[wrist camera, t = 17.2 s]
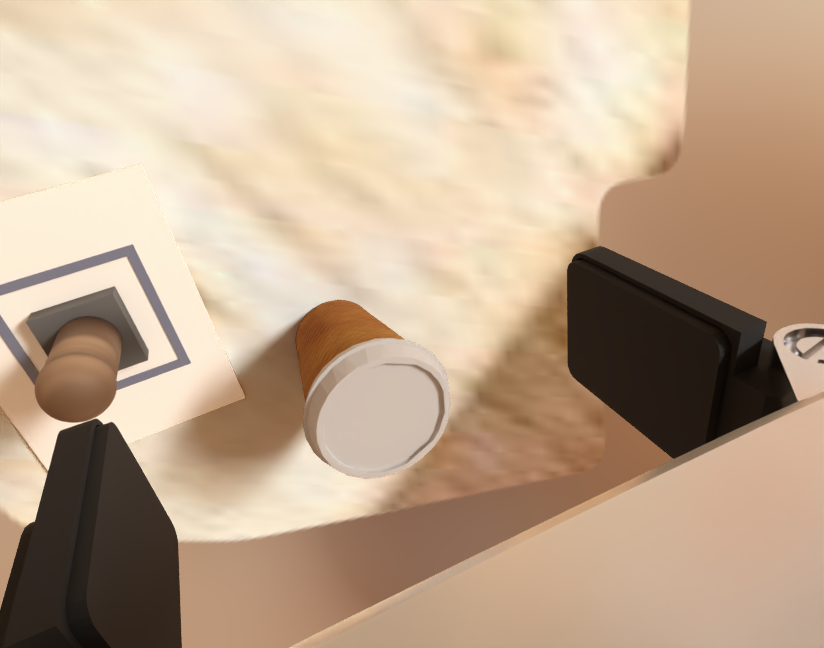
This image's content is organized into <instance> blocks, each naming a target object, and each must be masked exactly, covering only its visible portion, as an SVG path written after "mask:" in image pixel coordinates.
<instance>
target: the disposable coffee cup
mask: <svg viewBox="0 0 824 648" xmlns="http://www.w3.org/2000/svg"><path fill="white" fill-rule="evenodd" d="M296 349H297V354H298V360H299V366H300V373H301V378H302V384H303V390H304V397H305V406H304V412H303V426H304V431H305V436H306V439H307V441H308V443H309V445H310V446H311V448H312V450H313V452H314V453H315V454H316V455H317V456H318V457H319V458H320V459H321V460H322V461H324V462H325V463H327V464H329V465H330V466H332V467H333V468H335V469H336V470H338V471H340V472H342V473H344V474H346V475H348V476H353V477H358V478H364V479H369V478H381V477H385V476H389V475H393V474H395V473H397V472H399V471H401V470H403V469H405V468H408V467H410V466H412V465H413V464H415V463H416V462H417V461H419V460H420V459H421V458H423V457H424V456H425V455H426V454H427V453H428V452H429V451H430V450H431V449H432V448H433V447H434V445H435V444H436V443H437V441H438V440H439V439H440V437H441V435H442V433H443V432H444V430H445V427H446V424H447V422H448V419H449V415H450V407H451V400H450V392H449V383H448V379H447V374H446V372H445V370H444V368H443V366H442V364H441V363H440V361H439V360H438V359H437V358H436V356H435V355H434V354H432V353H431V352H430V351H429V350H428V349H426V348H424V347H422V346H420V345H418V344H416V343H414V342H411V341H407V340H405V339H403V338H402V337H401V336H399V335H398V334H397V333H395V332H394V331H392V330H391V329H390V328H388V327H387V326H386V325H385V324H383V323H382V322H380V321H379V320H378V319H376V318H375V317H374V316H372V315H371V314H370V313H368V312H367V311H366V310H364V309H363V308H362V307H361V306H359V305H357V304H355V303H353V302H350V301H346V300H335V301H329V302H326V303H323V304H321V305H319V306H317V307H315V308H314V309H312V310H311V311H310V312H309V313H308V314H307V315H306V316H305V317H304V318H303V320H302V321H301V323H300V325H299V327H298V330H297V333H296Z"/></svg>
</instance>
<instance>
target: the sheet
mask: <svg viewBox="0 0 824 648" xmlns="http://www.w3.org/2000/svg"><path fill="white" fill-rule="evenodd" d="M113 286H115V287H116V289H117V291H118V293H119V295H120V297H121V299H122V301H123V303H124V304H125V306H126V308H127V310H128V312H129V314H130V316H131V318H132V320H133V321H134V323H135V325H136V327H137V329H138V331H139V333H140V335H141V336H142V338H143V340H144V342H145V344H146V346H147V348H148V350H149V355H148V360H147V361H145V362H142V363H139V364H136V365H133V366H131V367H128V368H125V369H122V370H119V371H118V374H117V391H116V395H115V398H114V400H113V402H112V403H111V405H110V406H109V407H108V408H107V409H106V410H105V411H104V412H103V413H102V414H100V415H99V416H97V417H95V418H93V419H99V420H100V421H101V422H102V423H103V425H104V424H107V423H109V422H113V423H114V424H115V425H116V426H117V427H118V429H119V431H120V433H121V434H122V436H123V438H124V440H125V441H126V443H127V444H129V443H131V442H134V441H137V440H139V439H142V438H144V437H147V436H149V435H152V434H154V433H157V432H160V431H162V430H165V429H167V428H170V427H172V426H175V425H177V424H180V423H183V422H185V421H188V420H190V419H193V418H195V417H198V416H200V415H203V414H206V413H208V412H211V411H213V410H216V409H218V408H221V407H224V406H226V405H229V404H231V403H234V402H236V401H239V400H241V399H244V398H245V395H244V393H243V390H242V388H241V386H240V384H239V381H238V379H237V377H236V375H235V372H234V370H233V368H232V366H231V363H230V361H229V359H228V357H227V355H226V352H225V350H224V348H223V346H222V343H221V341H220V339H219V337H218V334H217V332H216V330H215V328H214V325H213V323H212V321H211V319H210V317H209V314H208V312H207V310H206V308H205V305H204V303H203V301H202V299H201V296H200V294H199V292H198V290H197V287H196V285H195V283H194V281H193V279H192V276H191V274H190V272H189V270H188V267H187V265H186V263H185V261H184V258H183V256H182V254H181V252H180V249H179V247H178V245H177V243H176V240H175V238H174V236H173V234H172V232H171V229H170V227H169V225H168V223H167V220H166V218H165V216H164V214H163V211H162V209H161V207H160V205H159V202H158V200H157V198H156V196H155V194H154V191H153V189H152V187H151V185H150V182H149V180H148V178H147V176H146V173H145V171H144V169H143V167H142V164H141V163H140V164H137V165H133V166H129V167H126V168H122V169H118V170H115V171H111V172H107V173H104V174H100V175H96V176H93V177H89V178H85V179H82V180H78V181H74V182H71V183H67V184H63V185H60V186H56V187H52V188H49V189H45V190H41V191H38V192H34V193H30V194H27V195H23V196H19V197H16V198H12V199H8V200H5V201H1V202H0V407H1V408H2V409H3V411H4V412H5V413H6V415H7V416H8V417H9V419H10V420H11V422H12V423H13V424H14V426H15V427H16V428H17V430H18V431H19V432H20V434H21V435H22V436H23V438H24V439H25V440H26V442H27V443H28V445H29V446H30V447H31V449H32V450H33V451H34V453H35V454H36V455H37V457H38V458H39V459H40V461H41V462H42V463H43V465H44V466H45V468H46V469H47V470H49V466H50V462H51V459H52V455H53V451H54V447H55V443H56V440H57V436H58V433H59V431H61V430H63V429H66V428H69V427H72V426H75V425H78V424H81V423H84V422H87V421H84V422H78V423H69V422H63V421H59V420H56V419H54V418H52V417H50V416H49V415H47V414H46V413H45V412H44V411H43V410H42V409H41V408H40V406H39V404H38V403H37V400H36V397H35V382H36V379H37V376H38V374H39V373H40V371H41V370H42V368H43V367H44V365H45V363H46V360H47V358H48V356H47V355H46V353H45V352H44V350H43V349H42V347H41V345H40V344H39V342H38V341H37V339H36V338H35V336H34V335H33V333H32V332H31V330H30V328H29V327H28V325H27V324H26V321H27V319H28V318H29V316H30V314H31V313H33V312H36V311H39V310H42V309H45V308H48V307H51V306H54V305H58V304H61V303H64V302H67V301H70V300H73V299H76V298H79V297H82V296H85V295H89V294H92V293H95V292H98V291H101V290H104V289H107V288H110V287H113ZM93 419H91V420H93ZM88 421H90V420H88Z"/></svg>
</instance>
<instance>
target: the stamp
mask: <svg viewBox="0 0 824 648" xmlns="http://www.w3.org/2000/svg"><path fill="white" fill-rule="evenodd" d="M26 324H27V325H28V327H29V328H30V330H31V332H32V333H33V335H34V336H35V338H36V339H37V341H38V342H39V344H40V345H41V347H42V349H43V350H44V352H45V353H46V355H47V356H48V358H47V360H46V363H45V365H44V367H43V368H42V370H41V371H40V373H39V374H38V376H37V379H36V382H35V397H36V400H37V403H38V404H39V406H40V408H41V409H42V410H43V411H44V412H45V413H46V414H47V415H49V416H50V417H52V418H54V419H56V420H59V421H63V422H69V423H78V422H84V421H88V420H91V419H93V418H95V417H97V416H99V415H100V414H102V413H103V412H104V411H105V410H106V409H107V408H108V407H109V406H110V405H111V403H112V402H113V400H114V398H115V395H116V391H117V374H118V371H119V370H122V369H125V368H128V367H131V366H133V365H136V364H139V363H142V362H145V361H147V360H148V355H149V350H148V348H147V346H146V344H145V342H144V340H143V338H142V336H141V335H140V333H139V331H138V329H137V327H136V325H135V323H134V321H133V320H132V318H131V316H130V314H129V312H128V310H127V308H126V306H125V304H124V303H123V301H122V299H121V297H120V295H119V293H118V291H117V289H116V287H115V286H113V287H110V288H107V289H104V290H101V291H98V292H95V293H92V294H89V295H85V296H82V297H79V298H76V299H73V300H70V301H67V302H64V303H61V304H58V305H54V306H51V307H48V308H45V309H42V310H39V311H36V312H33V313H31V314H30V316H29V318H28V319H27V321H26Z"/></svg>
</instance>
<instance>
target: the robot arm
mask: <svg viewBox="0 0 824 648" xmlns="http://www.w3.org/2000/svg"><path fill="white" fill-rule="evenodd" d="M567 317H568V367H569V370H570V373H571V374H572V376H573V377H574V378H575V379H576V380H577V381H578V382H579V383H581V384H582V385H583V386H584V387H586V388H587V389H588V390H589V391H590V392H592V393H593V394H594V395H595V396H597V397H598V398H599V399H600V400H602V401H603V402H604V403H605V404H606V405H608V406H609V407H610V408H611V409H613V410H614V411H615V412H616V413H618V414H619V415H620V416H621V417H623V418H624V419H625V420H626V421H627V422H629V423H630V424H631V425H632V426H634V427H635V428H636V429H637V430H639V431H640V432H641V433H642V434H644V435H645V436H646V437H648V439H650V440H651V441H652V442H653V443H655V444H656V445H657V446H658V447H660V448H661V449H662V450H663V451H664V452H666V453H667V454H668V455H669V456H671V457H672V458H673V460H671V461H669V462H667V463H665V464H663V465H661V466H658V467H656V468H654V469H652V470H650V471H648V472H646V473H644V474H642V475H640V476H638V477H636V478H633V479H631V480H629V481H627V482H625V483H623V484H621V485H619V486H617V487H615V488H613V489H611V490H609V491H606V492H605V493H602V494H600V495H598V496H596V497H594V498H592V499H590V500H588V501H586V502H584V503H582V504H580V505H578V506H576V507H574V508H571V509H569V510H567V511H565V512H563V513H561V514H559V515H557V516H555V517H553V518H551V519H549V520H547V521H545V522H543V523H541V524H538V525H536V526H535V527H533V528H530V529H528V530H526V531H524V532H522V533H520V534H518V535H516V536H514V537H512V538H510V539H508V540H506V541H504V542H502V543H500V544H498V545H495V546H493V547H491V548H489V549H487V550H485V551H483V552H481V553H479V554H477V555H475V556H473V557H471V558H469V559H467V560H465V561H463V562H461V563H459V564H457V565H455V566H453V567H450V568H448V569H447V570H444V571H442V572H440V573H438V574H436V575H434V576H432V577H430V578H428V579H427V580H424V581H422V582H420V583H418V584H416V585H414V586H412V587H410V588H408V589H406V590H404V591H402V592H400V593H398V594H396V595H394V596H392V597H390V598H388V599H386V600H384V601H382V602H380V603H378V604H375V605H374V606H371V607H370V608H367V609H365V610H363V611H361V612H359V613H357V614H355V615H353V616H351V617H349V618H347V619H345V620H343V621H341V622H339V623H337V624H335V625H333V626H331V627H329V628H327V629H325V630H323V631H321V632H319V633H317V634H315V635H313V636H311V637H309V638H307V639H305V640H303V641H301V642H299V643H297V644H295V645H294V646H291V647H290V648H824V325H822V324H811V323H810V324H795V325H791V326H787V327H784V328H782V329H780V330H778V331H777V332H776V334H775V335H774V337H773V341H770V340H768V339H765V338H763V336H764V332H765V328H766V323H767V322H766V321H763V320H761V319H759V318H757V317H755V316H753V315H750V314H748V313H746V312H744V311H742V310H739V309H737V308H735V307H733V306H731V305H729V304H727V303H724V302H722V301H720V300H718V299H716V298H713V297H711V296H709V295H707V294H705V293H703V292H700V291H698V290H696V289H694V288H692V287H690V286H687V285H685V284H683V283H681V282H679V281H677V280H674V279H672V278H670V277H668V276H666V275H664V274H661V273H659V272H657V271H655V270H653V269H650V268H648V267H646V266H644V265H642V264H640V263H637V262H635V261H633V260H631V259H629V258H626V257H624V256H622V255H620V254H618V253H616V252H614V251H611V250H609V249H607V248H605V247H601V246H599V247H595V248H592V249H590V250H587V251H584V252H581V253H578V254H576V255H575V256H574V257H573V259H572V263H570V264H569V266H568V269H567ZM0 648H182V643H181V614H180V585H179V557H178V540H177V535H176V531H175V528H174V526H173V524H172V522H171V520H170V518H169V517H168V515H167V513H166V511H165V510H164V508H163V506H162V504H161V503H160V501H159V499H158V497H157V496H156V494H155V492H154V490H153V489H152V487H151V485H150V483H149V482H148V480H147V478H146V476H145V475H144V473H143V471H142V469H141V468H140V466H139V464H138V462H137V461H136V459H135V457H134V455H133V454H132V452H131V450H130V448H129V447H128V445H127V443H126V441H125V440H124V438H123V436H122V434H121V433H120V431H119V429H118V427H117V426H116V425H115V424H114V423H113V422H109V423H107V424H104V425H103V423H102V422H101V421H100V420H99V419H93V420H90V421H87V422H84V423H81V424H78V425H75V426H72V427H69V428H66V429H63V430H61V431H59V433H58V436H57V440H56V443H55V447H54V451H53V455H52V459H51V462H50V466H49V470H48V474H47V478H46V482H45V485H44V489H43V493H42V497H41V501H40V504H39V508H38V512H37V516H36V520H35V522H32V523H30V524H29V525H28V526H26V527H25V529H24V531H23V533H22V535H21V538H20V542H19V545H18V549H17V553H16V556H15V559H14V563H13V567H12V570H11V574H10V577H9V581H8V584H7V588H6V591H5V595H4V598H3V602H2V606H1V609H0Z"/></svg>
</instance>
